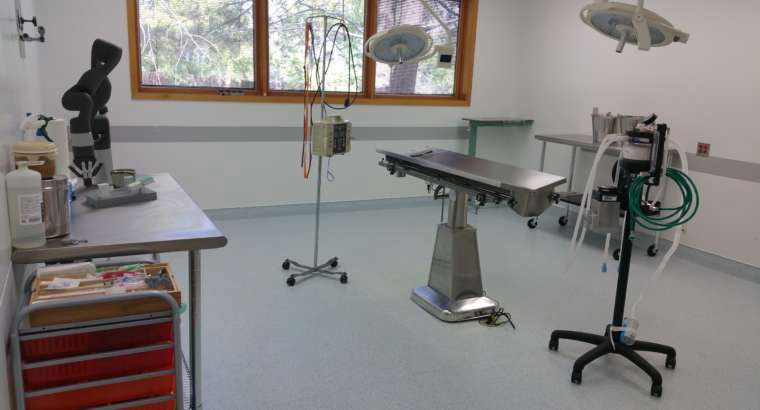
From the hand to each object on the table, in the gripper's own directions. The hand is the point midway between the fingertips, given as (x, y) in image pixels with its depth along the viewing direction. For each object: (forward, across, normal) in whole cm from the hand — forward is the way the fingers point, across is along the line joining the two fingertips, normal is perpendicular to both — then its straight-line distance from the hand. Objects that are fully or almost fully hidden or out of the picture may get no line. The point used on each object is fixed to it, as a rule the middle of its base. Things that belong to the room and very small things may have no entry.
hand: (88, 187), depth 217 cm
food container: (+8, -22, -21) cm, 32 cm away
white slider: (+5, -6, 0) cm, 8 cm away
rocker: (+1, -21, 0) cm, 21 cm away
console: (+8, -14, -5) cm, 17 cm away
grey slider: (+5, -19, -9) cm, 22 cm away
